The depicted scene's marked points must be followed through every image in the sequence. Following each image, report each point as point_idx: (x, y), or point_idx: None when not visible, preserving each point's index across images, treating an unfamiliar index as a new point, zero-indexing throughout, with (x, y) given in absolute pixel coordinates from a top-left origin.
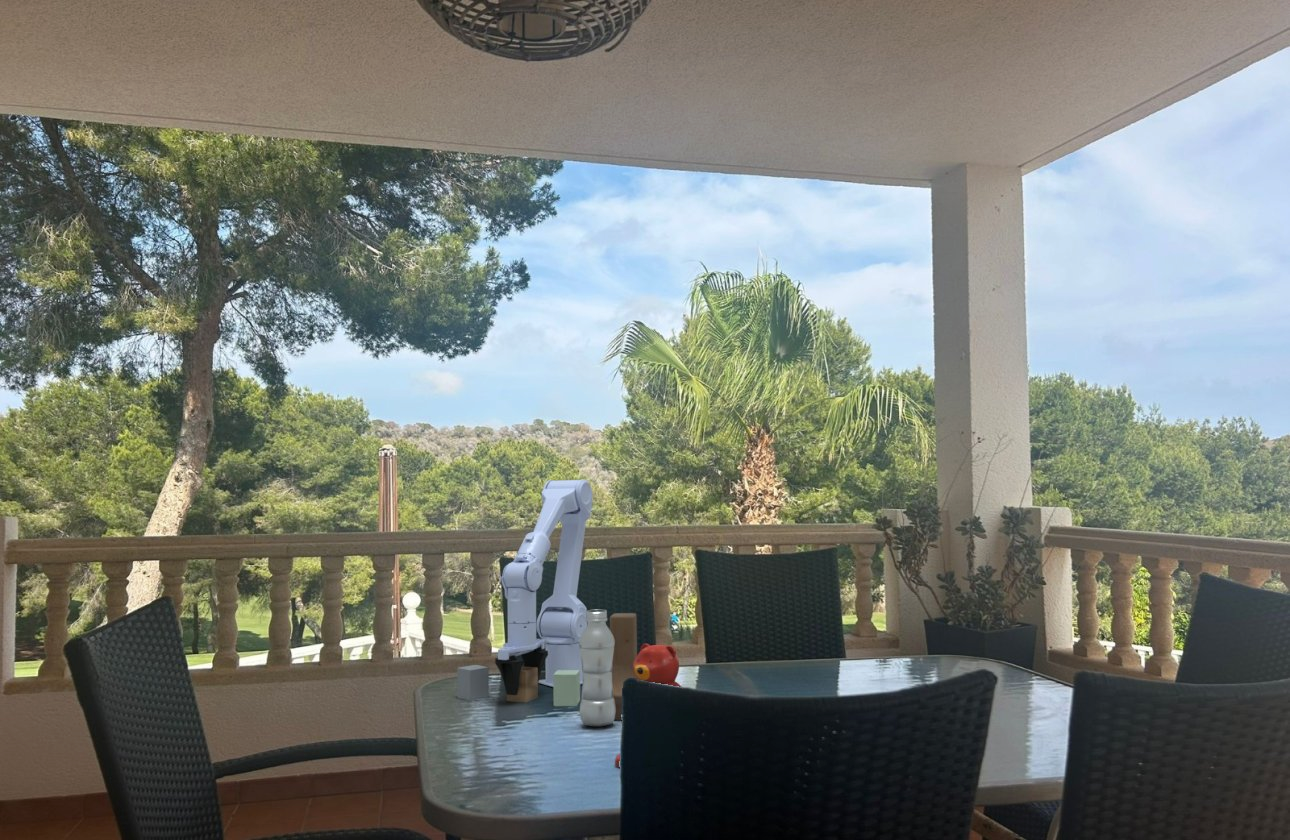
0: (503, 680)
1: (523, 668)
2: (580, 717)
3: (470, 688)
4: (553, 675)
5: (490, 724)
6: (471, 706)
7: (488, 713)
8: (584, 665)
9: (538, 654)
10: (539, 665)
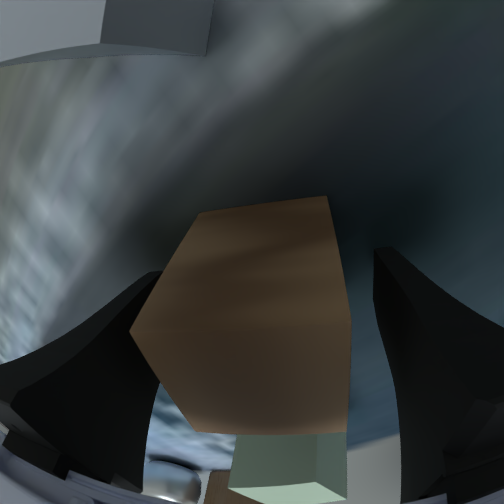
0: (96, 315)
1: (272, 395)
2: (147, 466)
3: (46, 60)
4: (228, 485)
5: (25, 345)
6: (38, 163)
7: (44, 289)
8: None
9: (410, 491)
10: (399, 422)
